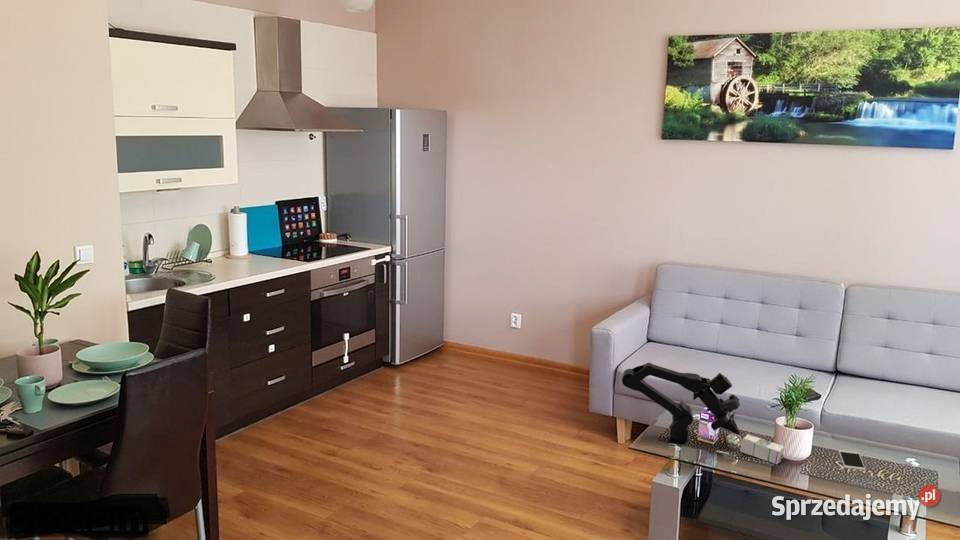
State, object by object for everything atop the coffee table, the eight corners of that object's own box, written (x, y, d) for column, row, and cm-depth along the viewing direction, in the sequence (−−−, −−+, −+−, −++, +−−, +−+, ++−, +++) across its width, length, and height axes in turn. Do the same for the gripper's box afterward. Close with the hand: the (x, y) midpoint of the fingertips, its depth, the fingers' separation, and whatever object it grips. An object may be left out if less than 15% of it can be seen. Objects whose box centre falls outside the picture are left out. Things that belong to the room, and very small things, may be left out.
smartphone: (858, 453, 293) (858, 451, 293) (865, 471, 279) (866, 469, 279) (838, 451, 295) (838, 449, 295) (844, 469, 281) (844, 466, 281)
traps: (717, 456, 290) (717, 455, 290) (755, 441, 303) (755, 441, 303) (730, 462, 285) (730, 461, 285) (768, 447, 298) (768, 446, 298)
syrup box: (739, 451, 292) (777, 465, 283) (742, 437, 290) (780, 451, 282) (744, 446, 296) (782, 460, 288) (747, 432, 295) (785, 446, 286)
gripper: (721, 398, 285) (749, 432, 282) (733, 383, 301) (760, 414, 298) (699, 414, 291) (726, 447, 288) (712, 398, 307) (738, 429, 303)
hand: (739, 434), depth 294 cm, fingers closed
